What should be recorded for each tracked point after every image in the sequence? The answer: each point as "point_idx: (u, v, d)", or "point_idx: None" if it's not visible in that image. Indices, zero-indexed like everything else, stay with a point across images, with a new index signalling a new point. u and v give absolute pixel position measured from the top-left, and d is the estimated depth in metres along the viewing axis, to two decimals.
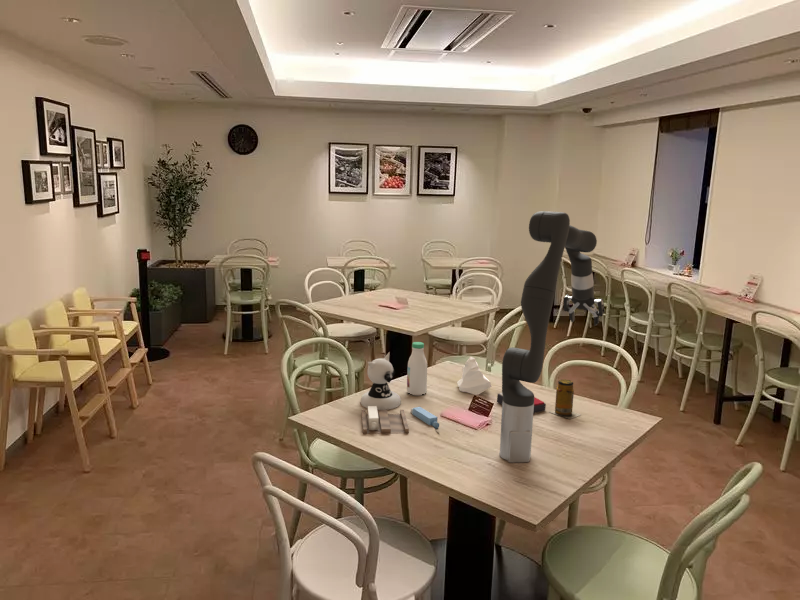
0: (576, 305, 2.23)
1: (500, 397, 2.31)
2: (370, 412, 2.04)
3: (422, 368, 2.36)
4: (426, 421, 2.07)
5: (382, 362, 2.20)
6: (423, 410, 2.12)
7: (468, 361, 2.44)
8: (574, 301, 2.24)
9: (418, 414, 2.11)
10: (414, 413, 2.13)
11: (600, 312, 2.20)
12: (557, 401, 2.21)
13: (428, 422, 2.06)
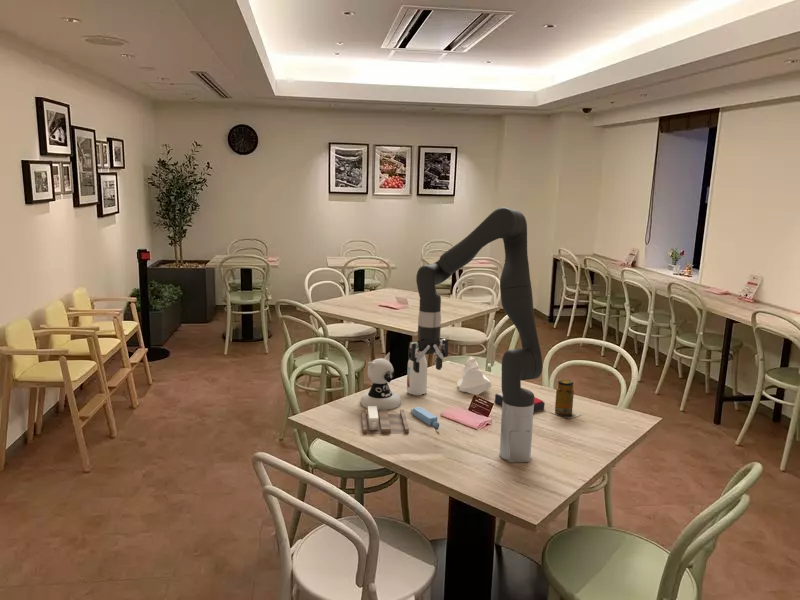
0: (426, 349, 2.05)
1: (498, 397, 2.30)
2: (370, 412, 2.04)
3: (422, 368, 2.36)
4: (426, 421, 2.07)
5: (382, 362, 2.20)
6: (423, 410, 2.12)
7: (468, 361, 2.44)
8: (423, 346, 2.05)
9: (418, 414, 2.11)
10: (414, 413, 2.13)
11: (446, 352, 2.09)
12: (557, 401, 2.21)
13: (428, 422, 2.06)
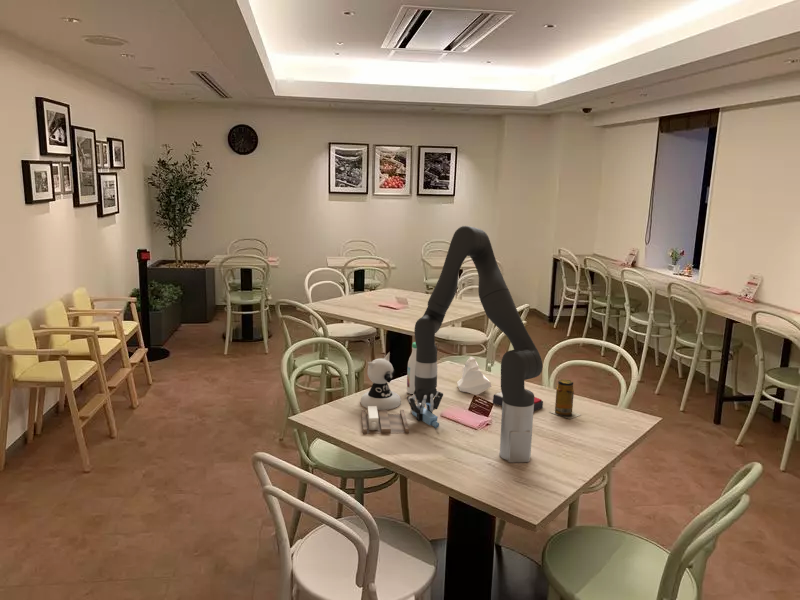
0: (424, 399, 2.07)
1: (497, 398, 2.30)
2: (370, 412, 2.04)
3: None
4: (426, 420, 2.07)
5: (382, 362, 2.20)
6: (423, 409, 2.12)
7: (468, 361, 2.44)
8: (420, 398, 2.07)
9: None
10: None
11: (437, 404, 2.11)
12: (557, 401, 2.21)
13: (428, 421, 2.06)
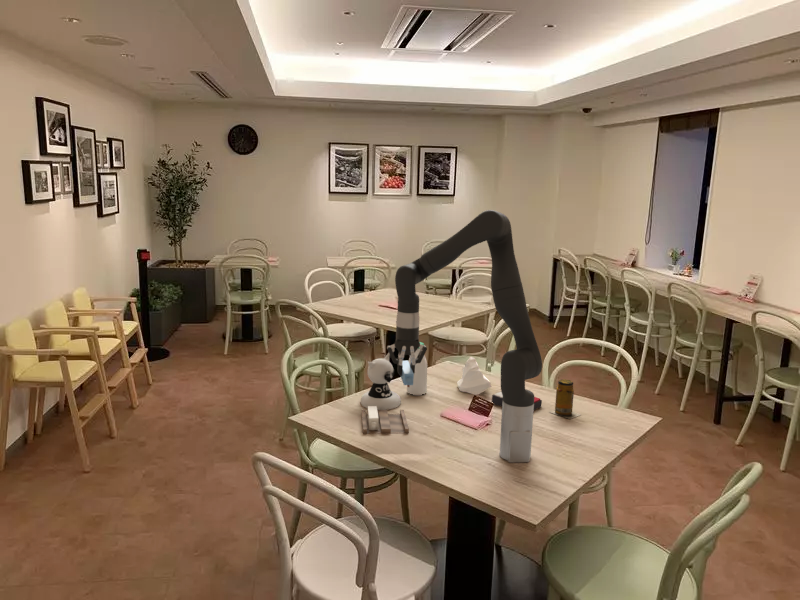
0: (403, 350, 2.02)
1: (496, 398, 2.30)
2: (370, 412, 2.04)
3: (422, 368, 2.36)
4: (403, 376, 2.02)
5: (382, 362, 2.20)
6: (407, 364, 2.07)
7: (468, 361, 2.44)
8: (399, 348, 2.02)
9: None
10: None
11: (420, 358, 2.04)
12: (557, 401, 2.21)
13: (403, 377, 2.01)
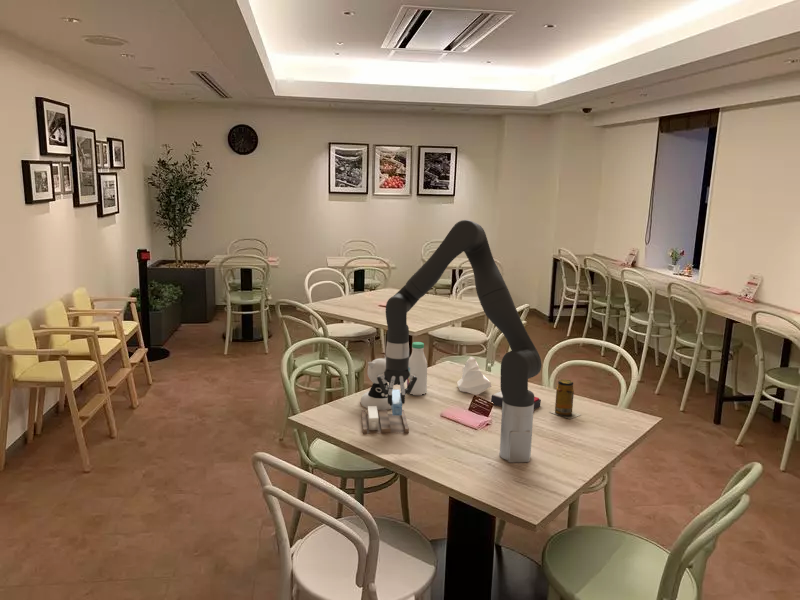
0: (392, 380, 2.02)
1: (495, 398, 2.29)
2: (370, 412, 2.04)
3: (422, 368, 2.36)
4: (392, 406, 2.02)
5: (382, 362, 2.20)
6: (397, 394, 2.07)
7: (468, 361, 2.44)
8: (388, 378, 2.02)
9: None
10: None
11: (410, 388, 2.03)
12: (557, 401, 2.21)
13: (392, 407, 2.01)
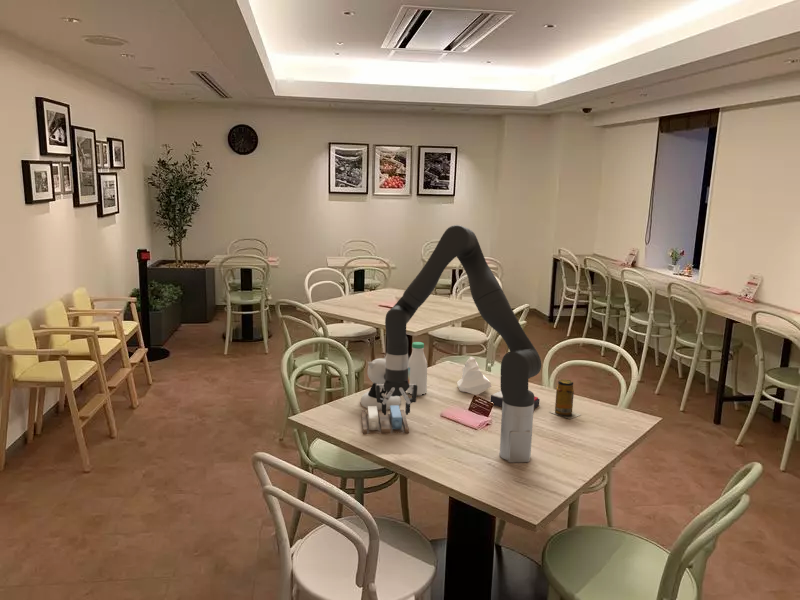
0: (391, 391, 2.02)
1: (495, 398, 2.29)
2: (370, 412, 2.04)
3: (422, 368, 2.36)
4: None
5: (382, 362, 2.20)
6: (397, 409, 2.08)
7: (468, 361, 2.44)
8: (388, 388, 2.03)
9: None
10: (390, 411, 2.10)
11: (414, 397, 2.04)
12: (557, 401, 2.21)
13: (392, 421, 2.01)
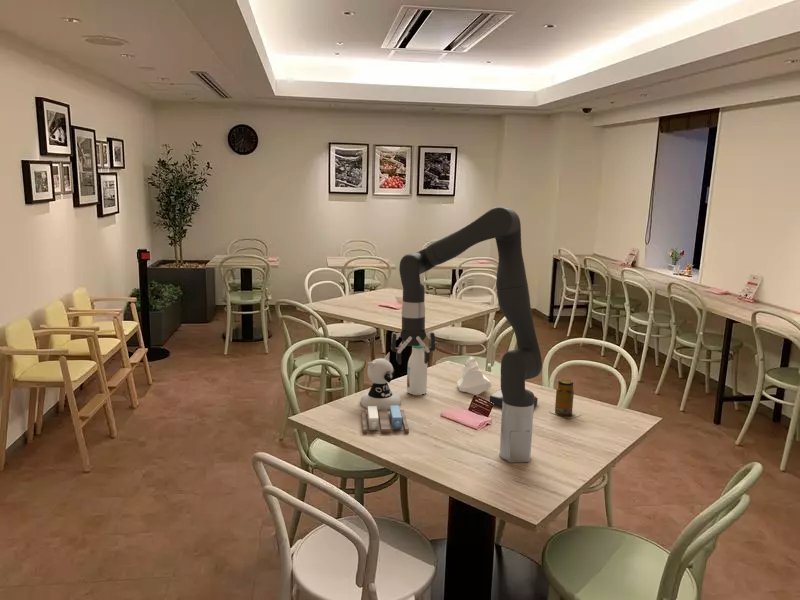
0: (407, 341, 1.99)
1: (494, 399, 2.29)
2: (370, 412, 2.04)
3: (422, 368, 2.36)
4: None
5: (382, 362, 2.20)
6: (397, 409, 2.08)
7: (468, 361, 2.44)
8: (404, 337, 2.00)
9: None
10: (390, 411, 2.10)
11: (433, 345, 2.01)
12: (557, 401, 2.21)
13: (392, 421, 2.01)
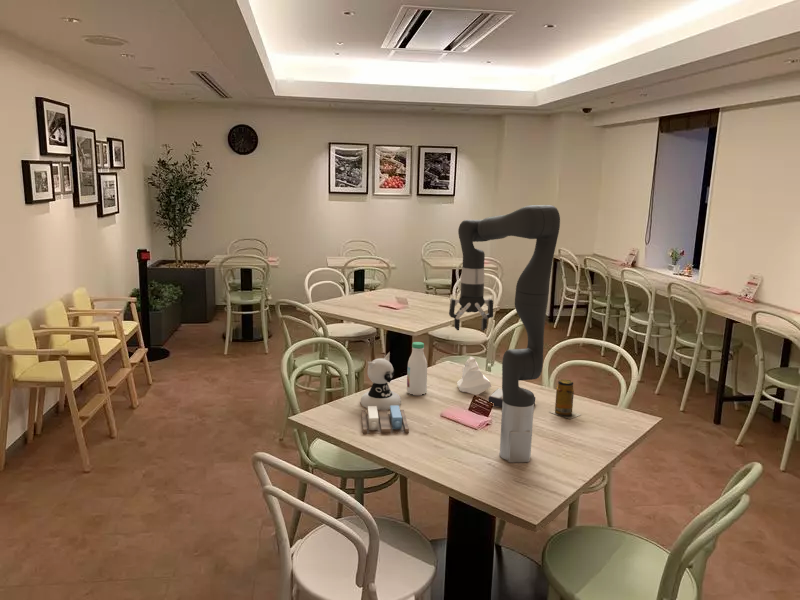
0: (466, 307, 2.01)
1: (494, 399, 2.28)
2: (370, 412, 2.04)
3: (422, 368, 2.36)
4: None
5: (382, 362, 2.20)
6: (397, 409, 2.08)
7: (468, 361, 2.44)
8: (463, 303, 2.01)
9: None
10: (390, 411, 2.10)
11: (491, 312, 2.02)
12: (557, 401, 2.21)
13: (392, 421, 2.01)
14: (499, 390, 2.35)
